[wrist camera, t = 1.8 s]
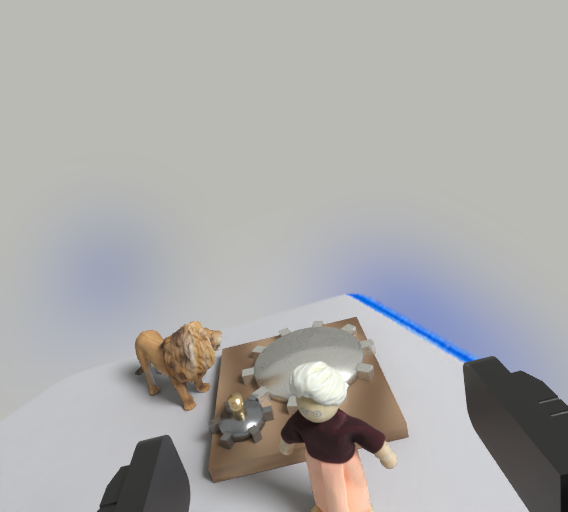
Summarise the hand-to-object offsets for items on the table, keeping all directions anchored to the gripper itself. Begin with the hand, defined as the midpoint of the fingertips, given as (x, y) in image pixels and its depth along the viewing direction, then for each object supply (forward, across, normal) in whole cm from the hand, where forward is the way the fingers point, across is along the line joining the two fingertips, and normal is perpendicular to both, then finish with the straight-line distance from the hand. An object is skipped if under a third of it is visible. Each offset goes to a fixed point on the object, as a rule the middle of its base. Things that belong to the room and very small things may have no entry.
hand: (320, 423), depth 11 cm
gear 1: (+21, +7, +17) cm, 28 cm away
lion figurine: (+30, +15, +19) cm, 39 cm away
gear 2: (+27, +1, +17) cm, 32 cm away
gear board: (+25, +2, +19) cm, 32 cm away
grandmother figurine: (+11, 0, +19) cm, 22 cm away
